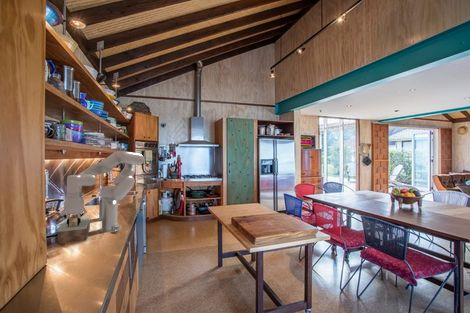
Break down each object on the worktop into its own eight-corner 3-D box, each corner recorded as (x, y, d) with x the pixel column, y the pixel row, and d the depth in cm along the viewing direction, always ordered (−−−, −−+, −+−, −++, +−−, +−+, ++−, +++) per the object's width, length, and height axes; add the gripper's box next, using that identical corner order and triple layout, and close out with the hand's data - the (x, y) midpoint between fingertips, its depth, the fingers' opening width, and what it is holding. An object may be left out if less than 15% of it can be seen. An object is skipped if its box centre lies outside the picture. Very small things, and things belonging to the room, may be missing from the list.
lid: (90, 218, 165) (90, 209, 165) (86, 228, 142) (86, 218, 142) (66, 220, 158) (66, 211, 158) (57, 231, 135) (58, 221, 135)
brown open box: (89, 229, 165) (90, 218, 165) (86, 241, 142) (86, 228, 142) (65, 232, 158) (66, 220, 158) (57, 245, 135) (57, 231, 135)
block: (77, 237, 146) (78, 216, 145) (76, 239, 142) (77, 217, 142) (70, 238, 144) (70, 216, 144) (69, 240, 140) (69, 218, 140)
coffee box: (100, 217, 195) (101, 198, 195) (109, 217, 197) (109, 198, 197) (98, 220, 187) (99, 200, 187) (107, 219, 189) (108, 200, 189)
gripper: (90, 193, 150) (90, 221, 150) (58, 195, 142) (58, 224, 142) (89, 195, 143) (89, 224, 143) (55, 197, 135) (55, 228, 136)
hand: (73, 224), depth 143 cm, fingers closed on block, 4 cm apart
